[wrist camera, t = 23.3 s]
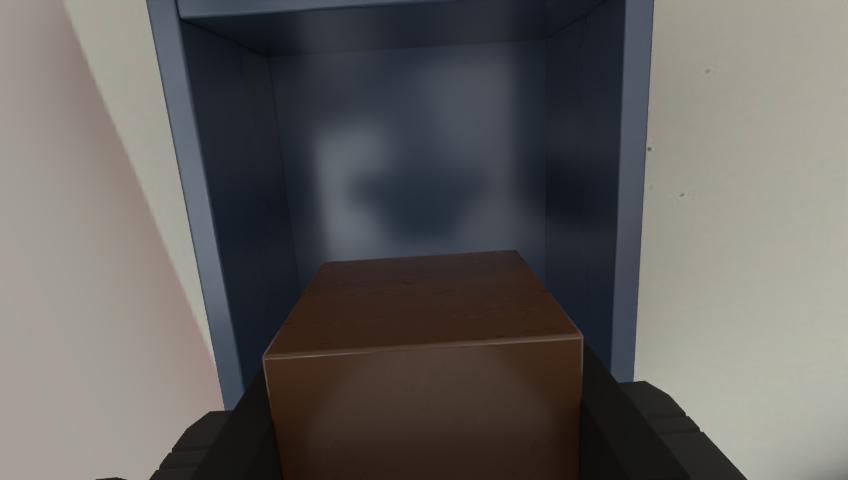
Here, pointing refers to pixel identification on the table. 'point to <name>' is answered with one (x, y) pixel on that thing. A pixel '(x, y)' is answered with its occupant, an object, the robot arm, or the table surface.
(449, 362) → the block
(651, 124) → the table surface
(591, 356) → the robot arm
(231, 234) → the blue box
